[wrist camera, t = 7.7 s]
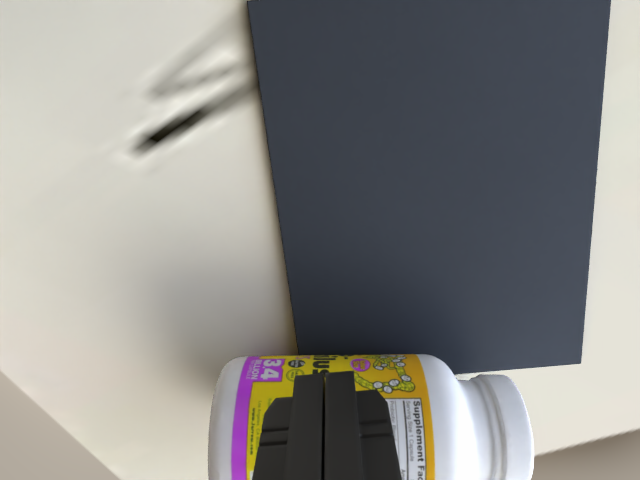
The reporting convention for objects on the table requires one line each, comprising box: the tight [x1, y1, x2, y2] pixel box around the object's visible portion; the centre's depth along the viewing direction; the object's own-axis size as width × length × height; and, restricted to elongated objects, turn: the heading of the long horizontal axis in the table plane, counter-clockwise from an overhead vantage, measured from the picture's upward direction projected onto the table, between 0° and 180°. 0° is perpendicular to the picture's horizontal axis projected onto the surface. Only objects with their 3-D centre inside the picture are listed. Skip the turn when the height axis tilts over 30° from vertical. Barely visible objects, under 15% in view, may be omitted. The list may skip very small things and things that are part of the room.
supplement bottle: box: [208, 354, 534, 480], centre depth 21 cm, size 7×7×13 cm
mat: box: [247, 0, 611, 374], centre depth 21 cm, size 18×14×1 cm
